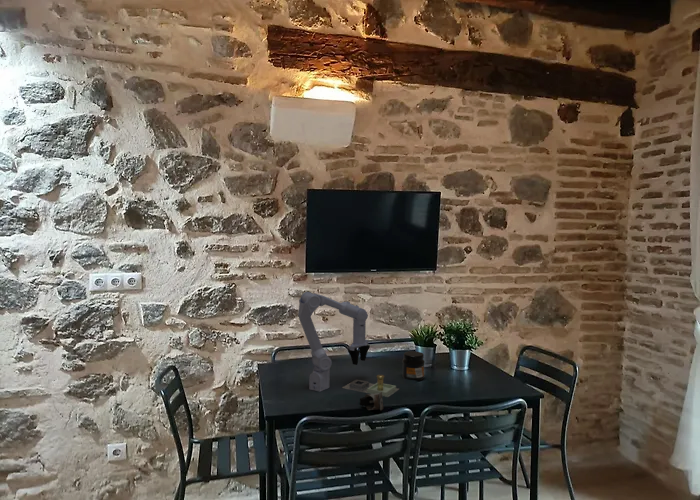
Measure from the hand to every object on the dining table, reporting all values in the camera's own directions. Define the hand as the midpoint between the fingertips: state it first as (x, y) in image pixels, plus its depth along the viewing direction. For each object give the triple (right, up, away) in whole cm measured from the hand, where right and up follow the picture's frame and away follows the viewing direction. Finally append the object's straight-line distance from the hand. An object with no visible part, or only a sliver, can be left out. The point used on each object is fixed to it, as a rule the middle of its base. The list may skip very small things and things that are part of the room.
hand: (359, 362), depth 236 cm
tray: (+10, -11, -11) cm, 18 cm away
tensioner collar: (0, -10, -5) cm, 11 cm away
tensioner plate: (+5, -11, -9) cm, 14 cm away
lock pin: (+9, -10, -11) cm, 17 cm away
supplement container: (+26, -10, +9) cm, 29 cm away
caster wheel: (+4, -12, -29) cm, 32 cm away
